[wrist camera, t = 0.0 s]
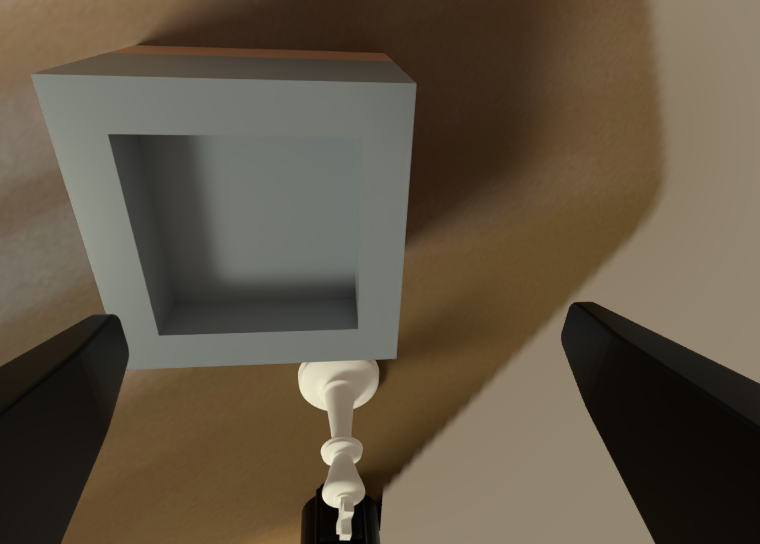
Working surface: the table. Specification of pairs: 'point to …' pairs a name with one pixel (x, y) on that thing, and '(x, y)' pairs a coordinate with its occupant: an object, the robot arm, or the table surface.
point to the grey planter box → (239, 198)
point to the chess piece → (340, 427)
